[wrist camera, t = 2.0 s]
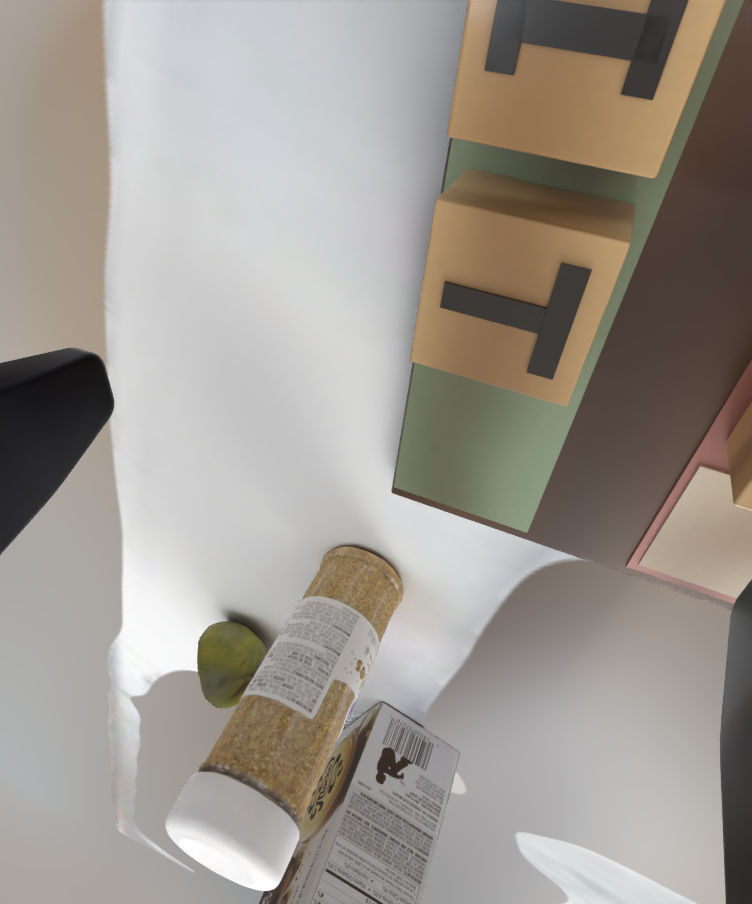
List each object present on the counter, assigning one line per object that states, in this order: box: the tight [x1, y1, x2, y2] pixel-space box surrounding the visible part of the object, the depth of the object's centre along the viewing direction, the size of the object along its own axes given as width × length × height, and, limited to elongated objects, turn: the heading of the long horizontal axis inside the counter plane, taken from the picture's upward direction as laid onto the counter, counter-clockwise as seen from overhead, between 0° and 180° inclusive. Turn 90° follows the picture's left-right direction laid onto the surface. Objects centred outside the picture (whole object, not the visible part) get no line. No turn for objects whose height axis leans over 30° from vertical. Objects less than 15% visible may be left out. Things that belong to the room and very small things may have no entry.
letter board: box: [392, 0, 752, 610], centre depth 16 cm, size 15×22×1 cm
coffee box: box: [259, 702, 460, 904], centre depth 34 cm, size 9×6×16 cm
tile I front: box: [447, 0, 726, 178], centre depth 12 cm, size 4×4×3 cm
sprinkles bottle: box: [166, 547, 403, 891], centre depth 25 cm, size 5×5×14 cm
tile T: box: [410, 169, 636, 406], centre depth 16 cm, size 4×4×3 cm
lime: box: [197, 621, 268, 708], centre depth 36 cm, size 4×5×5 cm
